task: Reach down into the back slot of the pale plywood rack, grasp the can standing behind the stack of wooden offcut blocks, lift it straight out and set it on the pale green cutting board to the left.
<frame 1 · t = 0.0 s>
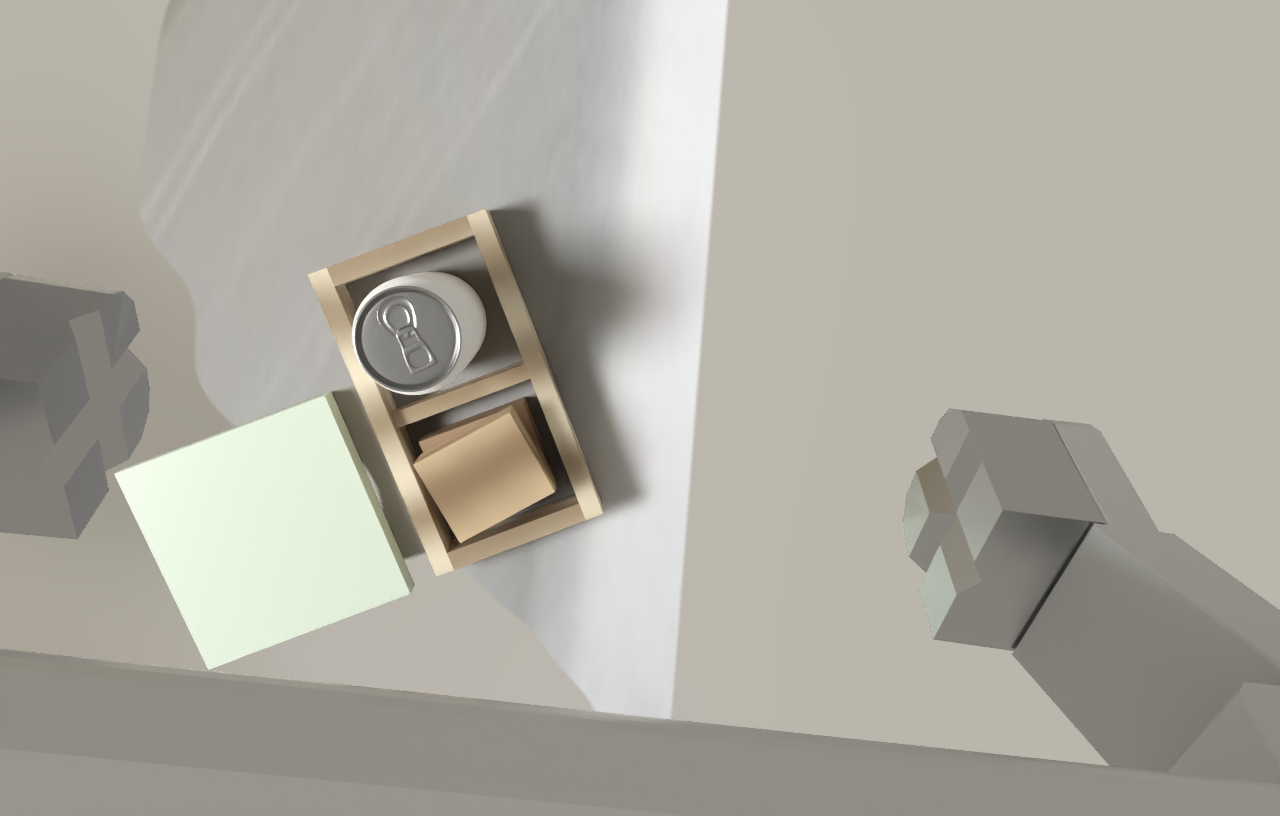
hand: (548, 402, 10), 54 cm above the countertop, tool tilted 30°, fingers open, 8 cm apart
can: (437, 321, 64), resting in rack
board: (273, 527, 65), on the countertop
offcut lower: (492, 456, 66), resting in rack, touching offcut upper
rack: (464, 390, 64), on the countertop
offcut upper: (488, 467, 63), point 3 cm above the countertop, touching offcut lower
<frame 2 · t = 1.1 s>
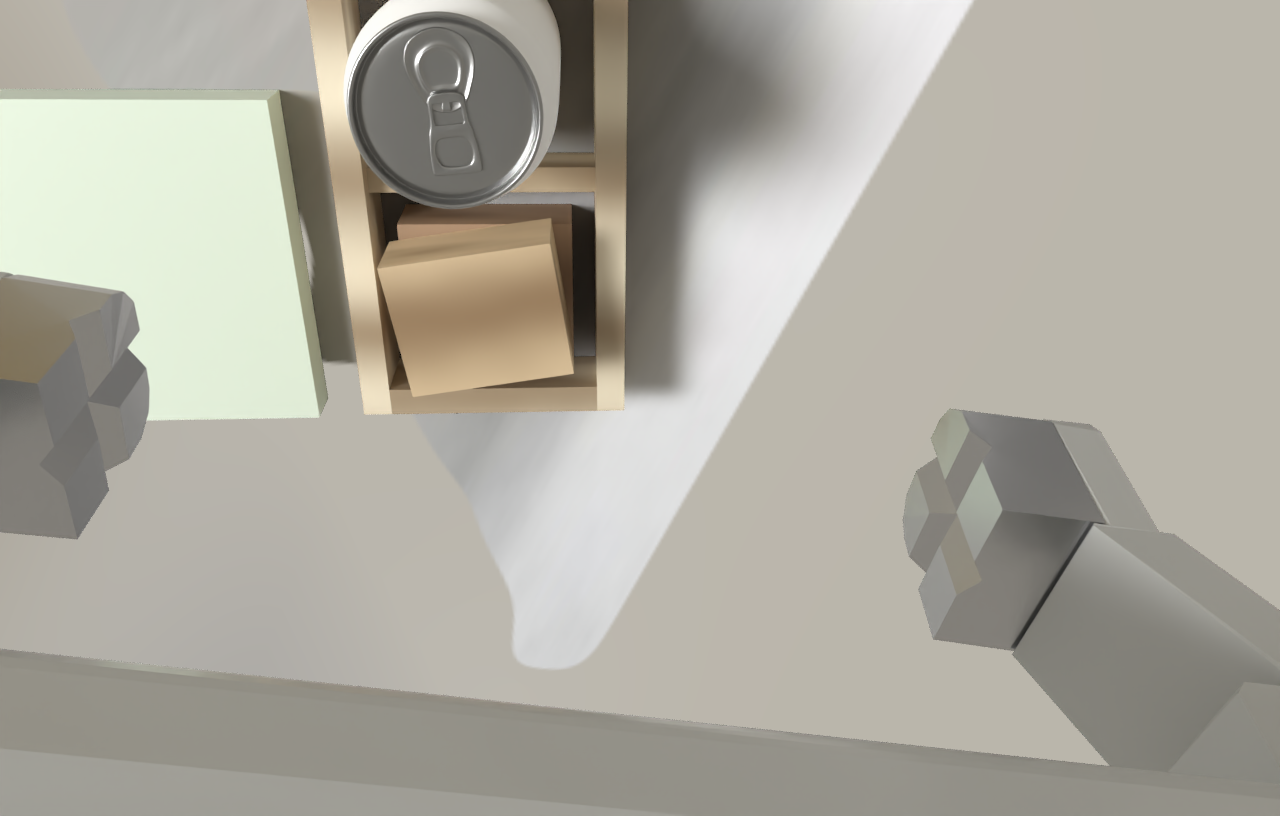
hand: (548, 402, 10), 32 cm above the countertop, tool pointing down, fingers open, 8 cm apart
can: (479, 42, 39), resting in rack
board: (138, 257, 42), on the countertop
offcut lower: (493, 267, 44), resting in rack, touching offcut upper
rack: (486, 164, 41), on the countertop
offcut upper: (484, 293, 41), point 3 cm above the countertop, touching offcut lower
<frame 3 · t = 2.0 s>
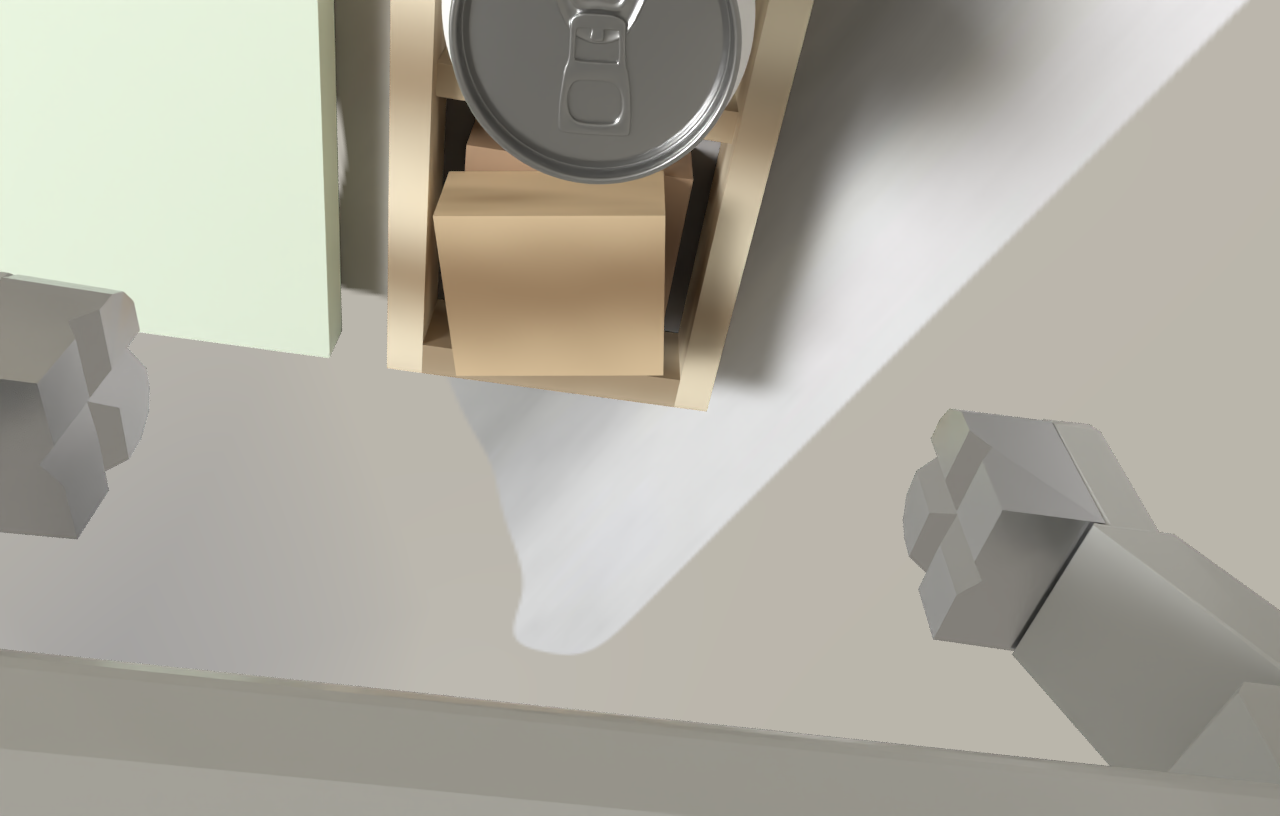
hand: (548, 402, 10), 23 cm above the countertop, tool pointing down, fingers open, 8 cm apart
board: (120, 123, 32), on the countertop
offcut lower: (574, 207, 34), resting in rack, touching offcut upper
rack: (591, 78, 31), on the countertop
offcut upper: (561, 251, 32), point 3 cm above the countertop, touching offcut lower
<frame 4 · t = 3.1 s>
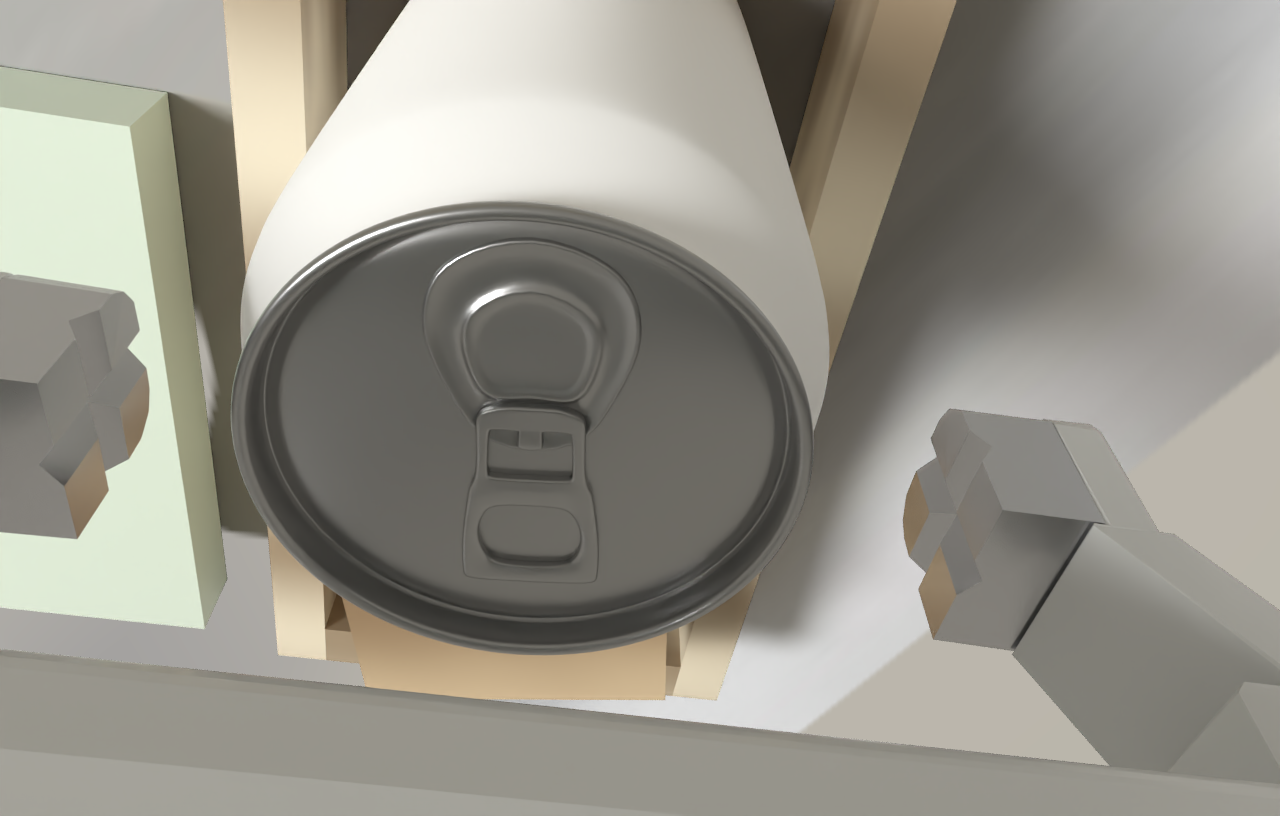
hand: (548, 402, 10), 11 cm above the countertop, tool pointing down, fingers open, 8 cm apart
can: (582, 65, 19), resting in rack
rack: (554, 282, 22), on the countertop
offcut upper: (521, 514, 23), point 3 cm above the countertop, touching offcut lower
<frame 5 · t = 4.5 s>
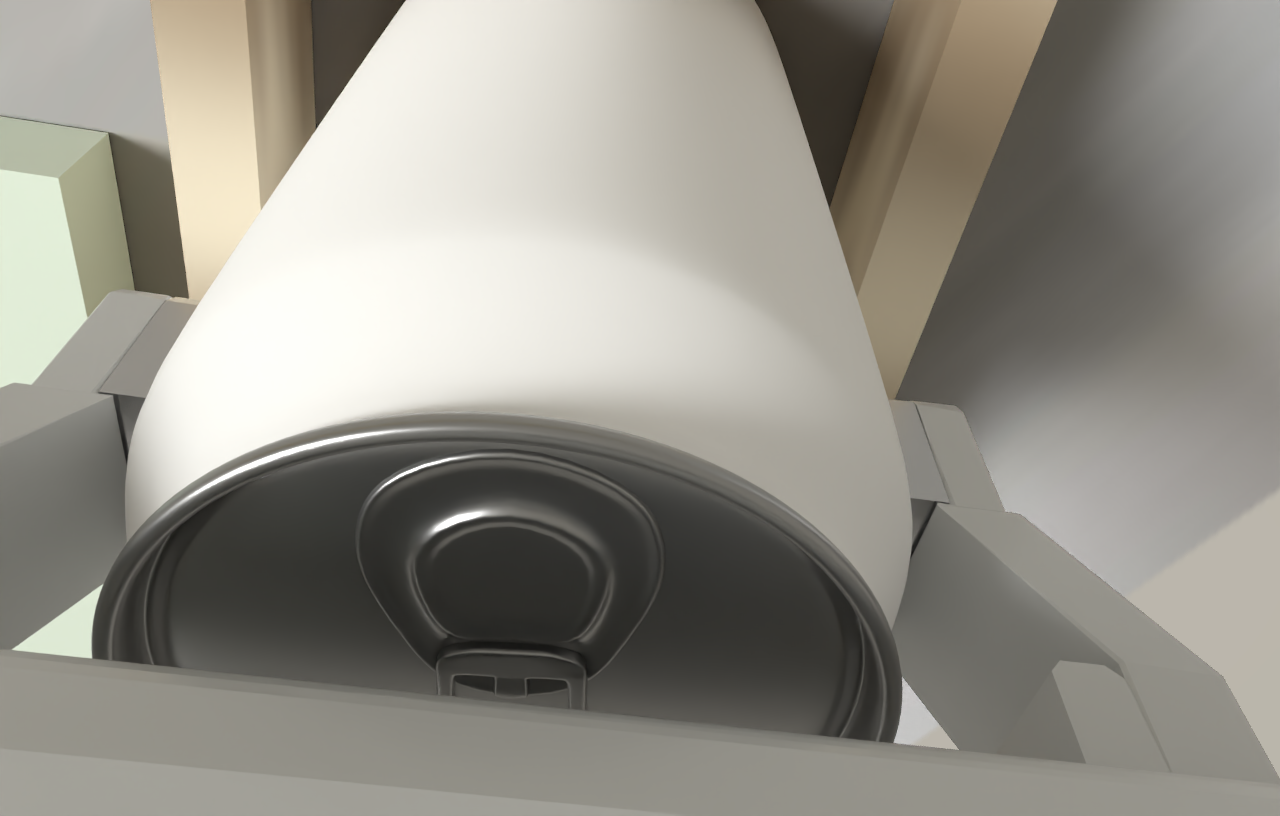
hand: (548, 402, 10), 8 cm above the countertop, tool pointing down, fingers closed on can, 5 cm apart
can: (588, 102, 17), resting in rack, touching gripper
rack: (555, 343, 19), on the countertop
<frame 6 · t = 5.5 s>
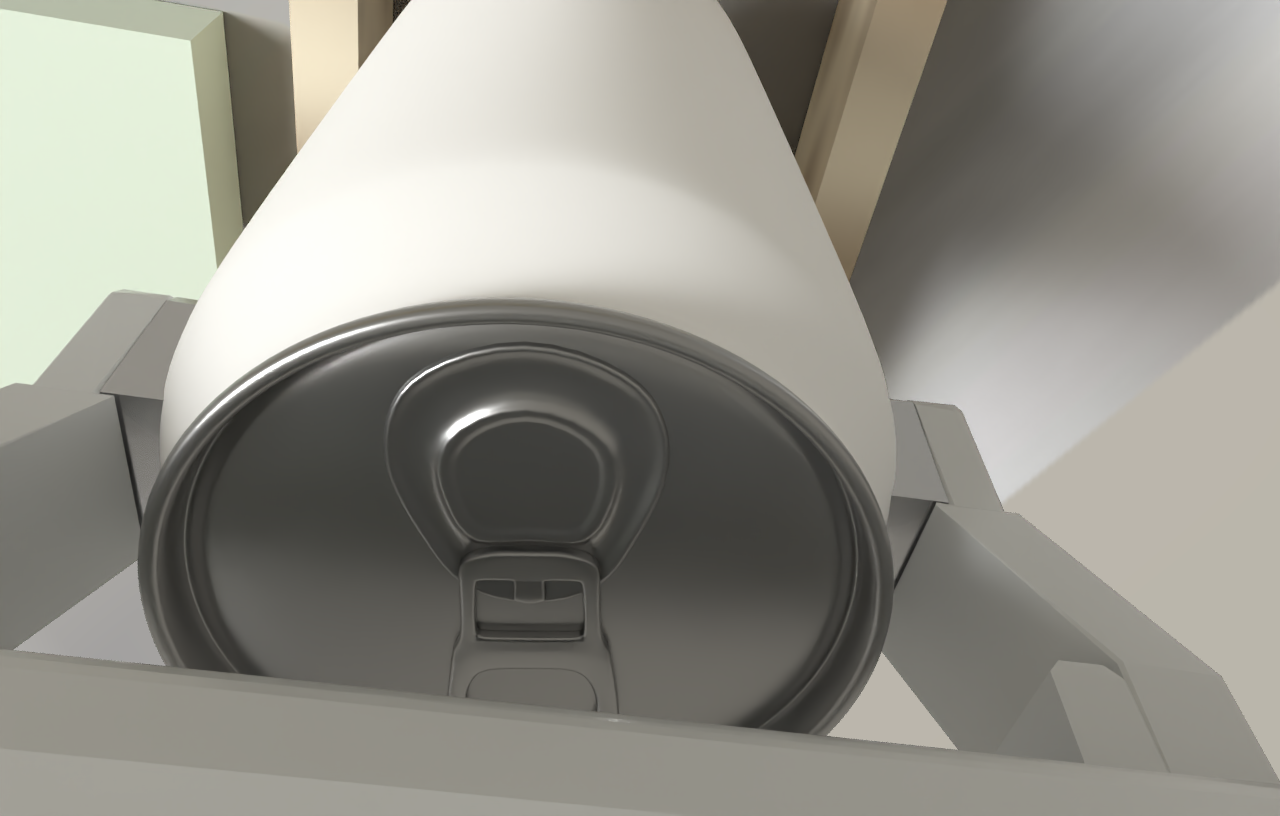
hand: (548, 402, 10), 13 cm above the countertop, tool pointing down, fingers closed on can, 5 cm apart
can: (570, 116, 18), point 4 cm above the countertop, touching gripper
rack: (585, 202, 23), on the countertop
when the fingers open (11 cm above the countertop, at t = 11.2 s): can moves 3 cm, resting on board.
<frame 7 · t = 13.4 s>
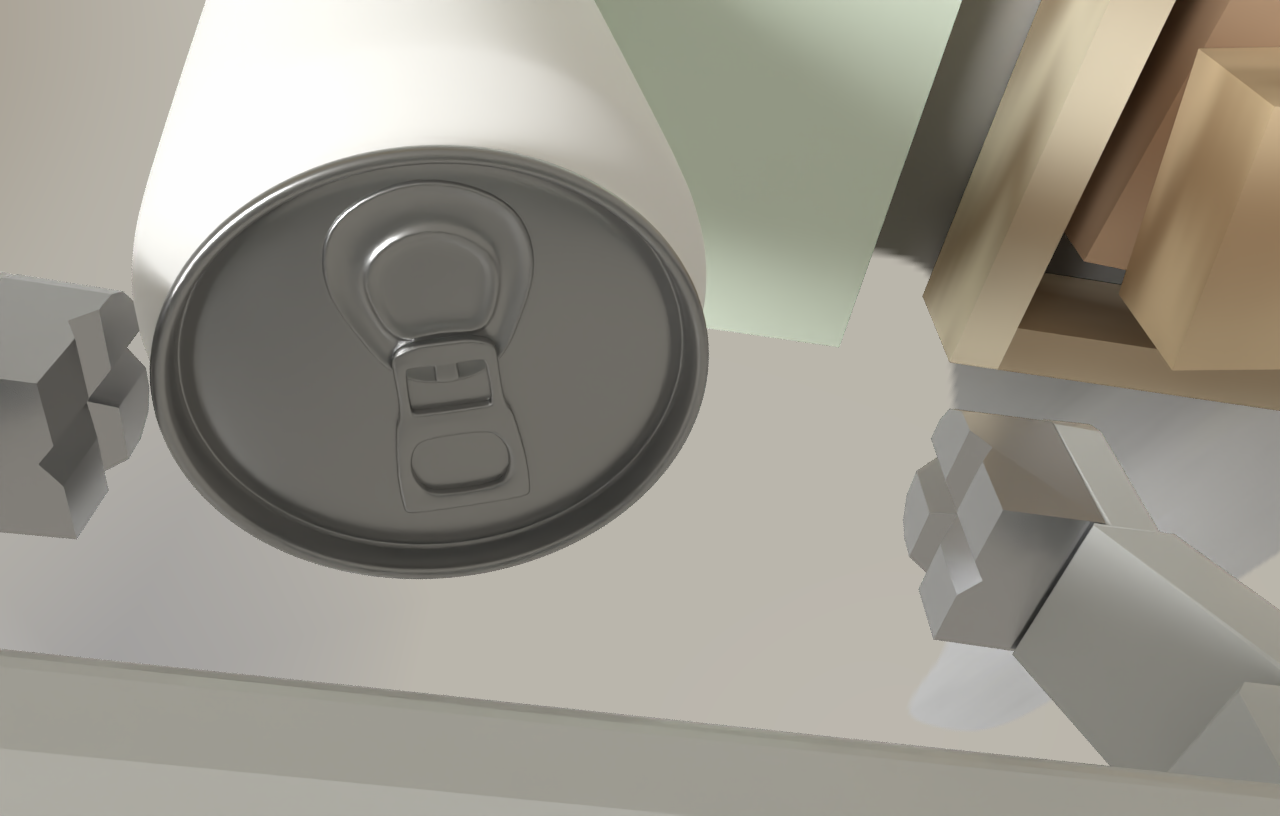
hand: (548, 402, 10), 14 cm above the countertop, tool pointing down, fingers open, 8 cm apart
can: (405, 2, 19), point 2 cm above the countertop, touching board, gripper
offcut lower: (1238, 116, 23), resting in rack, touching offcut upper
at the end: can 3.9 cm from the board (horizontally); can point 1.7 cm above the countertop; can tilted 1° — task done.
